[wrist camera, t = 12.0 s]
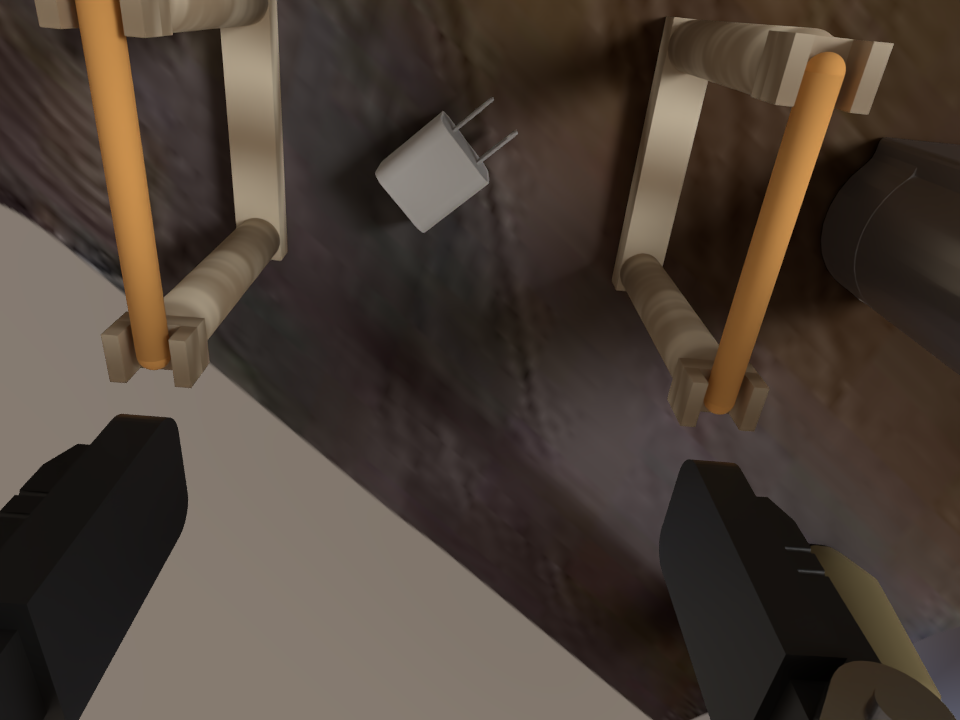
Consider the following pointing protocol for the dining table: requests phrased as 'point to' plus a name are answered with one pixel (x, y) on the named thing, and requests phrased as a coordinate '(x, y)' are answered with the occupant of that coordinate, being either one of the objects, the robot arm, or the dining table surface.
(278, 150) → the wooden parallette bars
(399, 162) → the usb wall charger
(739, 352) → the orange wooden rod
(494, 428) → the dining table surface
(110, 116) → the orange rod
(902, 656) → the squeeze bottle
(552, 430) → the dining table surface
